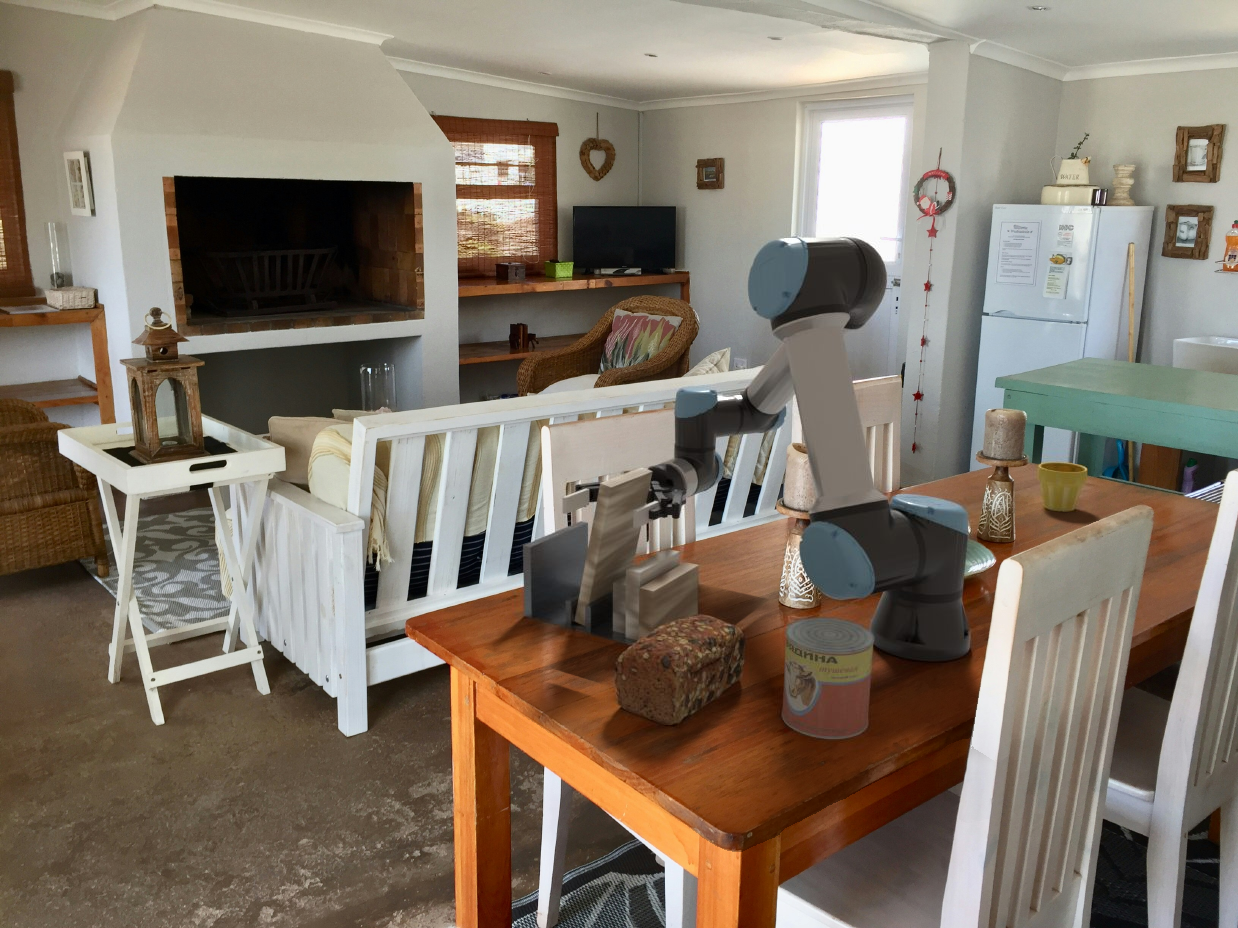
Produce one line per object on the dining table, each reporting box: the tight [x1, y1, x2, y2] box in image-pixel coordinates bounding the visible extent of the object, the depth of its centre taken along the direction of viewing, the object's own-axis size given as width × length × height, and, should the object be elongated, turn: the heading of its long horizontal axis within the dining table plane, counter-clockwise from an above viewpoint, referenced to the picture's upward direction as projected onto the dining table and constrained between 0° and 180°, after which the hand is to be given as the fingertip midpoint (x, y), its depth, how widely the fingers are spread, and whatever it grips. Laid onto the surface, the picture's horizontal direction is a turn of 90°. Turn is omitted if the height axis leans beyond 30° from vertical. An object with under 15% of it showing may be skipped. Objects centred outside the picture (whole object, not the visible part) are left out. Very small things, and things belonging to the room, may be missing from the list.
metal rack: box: [522, 521, 638, 646], centre depth 162 cm, size 25×16×14 cm, turn 57°
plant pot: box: [1037, 461, 1088, 513], centre depth 230 cm, size 10×10×10 cm
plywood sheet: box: [575, 467, 653, 626], centre depth 160 cm, size 2×12×24 cm, turn 147°
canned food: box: [781, 616, 874, 740], centre depth 132 cm, size 11×11×12 cm
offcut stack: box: [613, 548, 700, 640], centre depth 158 cm, size 8×14×11 cm, turn 147°
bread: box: [613, 613, 746, 726], centre depth 139 cm, size 19×11×10 cm, turn 143°
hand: (598, 512), depth 159 cm, fingers open, 13 cm apart
